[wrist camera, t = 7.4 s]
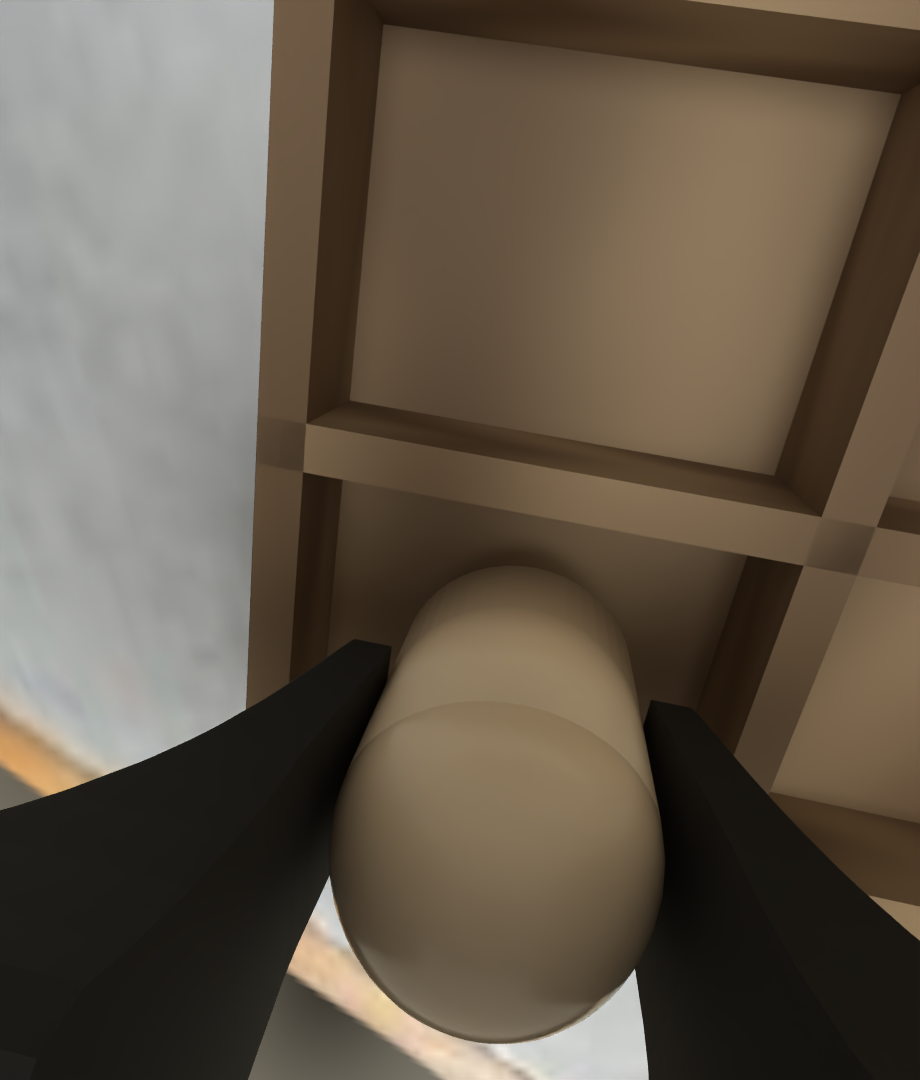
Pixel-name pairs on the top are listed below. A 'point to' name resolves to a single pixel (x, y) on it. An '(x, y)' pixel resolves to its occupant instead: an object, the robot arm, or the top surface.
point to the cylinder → (502, 814)
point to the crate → (613, 360)
